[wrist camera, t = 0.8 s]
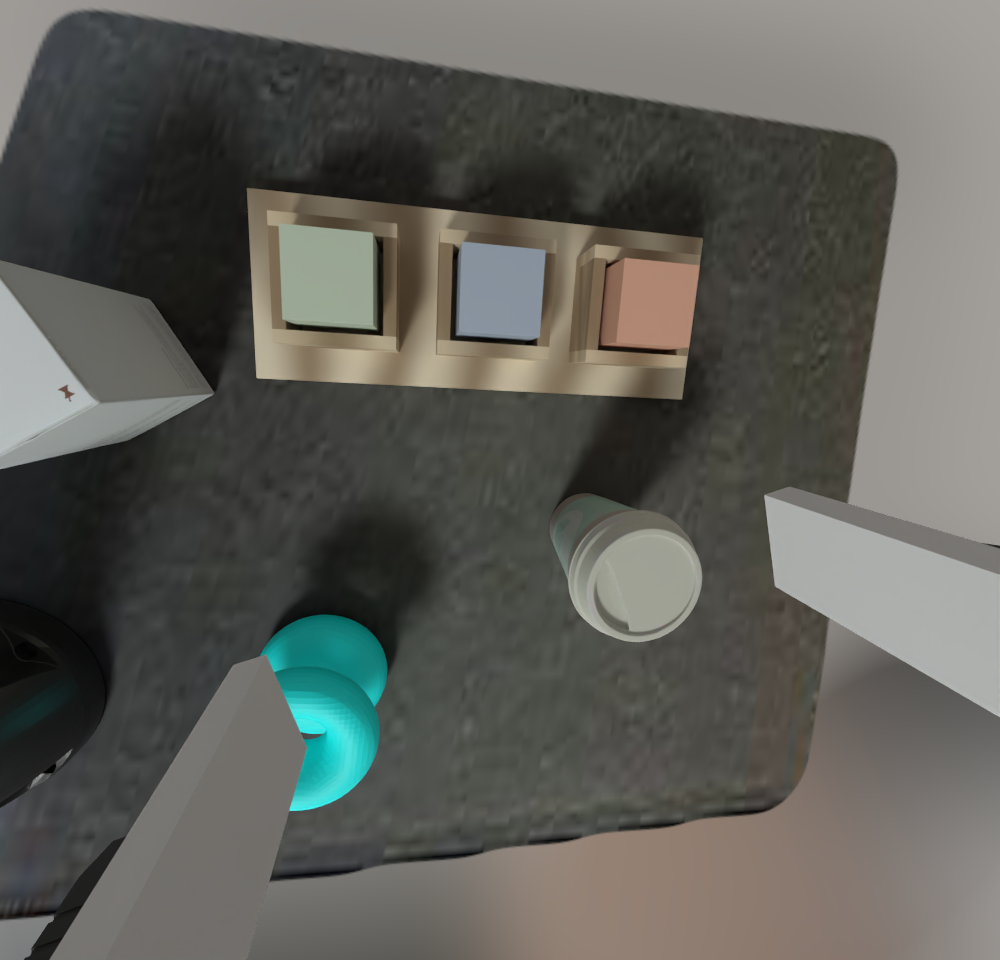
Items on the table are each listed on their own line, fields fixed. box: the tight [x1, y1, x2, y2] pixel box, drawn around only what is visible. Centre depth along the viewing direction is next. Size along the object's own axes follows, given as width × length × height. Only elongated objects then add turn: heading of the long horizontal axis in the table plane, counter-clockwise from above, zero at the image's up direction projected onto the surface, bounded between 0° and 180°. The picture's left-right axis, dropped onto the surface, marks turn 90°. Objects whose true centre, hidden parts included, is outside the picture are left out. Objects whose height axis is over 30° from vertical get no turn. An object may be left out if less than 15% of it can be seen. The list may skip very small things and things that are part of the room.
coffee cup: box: [550, 493, 702, 642], centre depth 35 cm, size 8×8×12 cm
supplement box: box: [0, 260, 214, 469], centre depth 27 cm, size 7×7×13 cm
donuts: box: [260, 615, 387, 811], centre depth 35 cm, size 10×10×10 cm
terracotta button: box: [598, 258, 700, 350], centre depth 32 cm, size 5×5×4 cm
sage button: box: [279, 223, 379, 331], centre depth 29 cm, size 5×5×4 cm
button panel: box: [247, 188, 703, 400], centre depth 33 cm, size 32×12×5 cm, turn 86°
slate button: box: [455, 242, 546, 341], centre depth 30 cm, size 5×5×4 cm
